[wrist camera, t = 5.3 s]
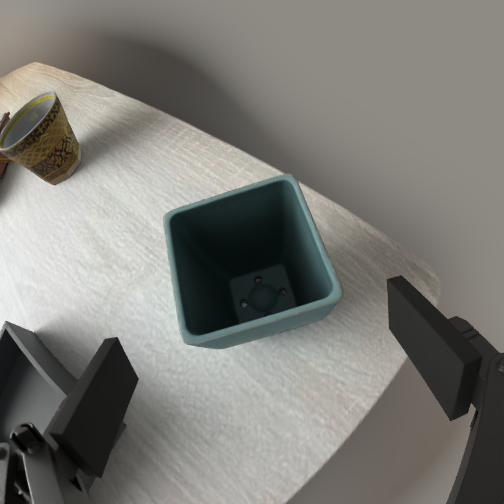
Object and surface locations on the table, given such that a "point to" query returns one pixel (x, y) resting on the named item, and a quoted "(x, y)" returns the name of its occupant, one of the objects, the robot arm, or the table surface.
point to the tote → (31, 385)
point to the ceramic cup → (42, 140)
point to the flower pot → (248, 265)
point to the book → (3, 120)
